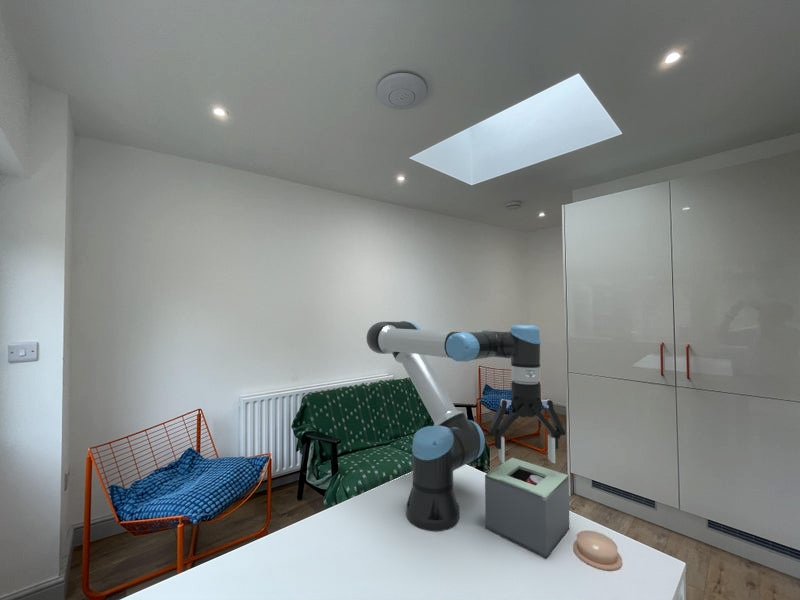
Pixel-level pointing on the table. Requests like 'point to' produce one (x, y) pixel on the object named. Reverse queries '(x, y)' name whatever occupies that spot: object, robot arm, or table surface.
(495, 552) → the table surface
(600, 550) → the peach dome
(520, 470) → the recycling bin
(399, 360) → the robot arm
